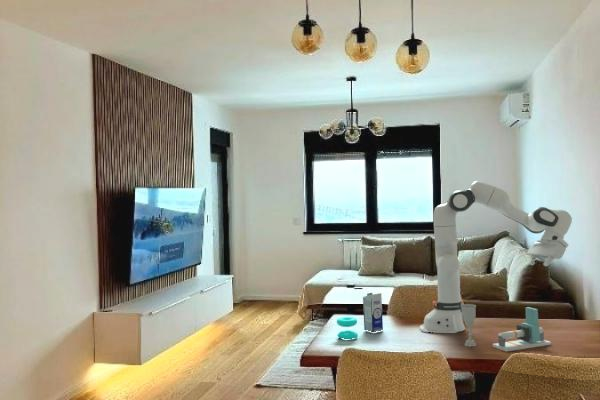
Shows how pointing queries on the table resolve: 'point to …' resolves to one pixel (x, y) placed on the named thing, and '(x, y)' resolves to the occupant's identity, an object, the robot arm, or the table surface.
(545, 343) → the pipe stand
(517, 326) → the dark gray block
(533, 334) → the teal notched saddle block
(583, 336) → the table surface
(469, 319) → the chalice
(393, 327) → the table surface
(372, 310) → the milk carton
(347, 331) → the donuts
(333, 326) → the table surface
